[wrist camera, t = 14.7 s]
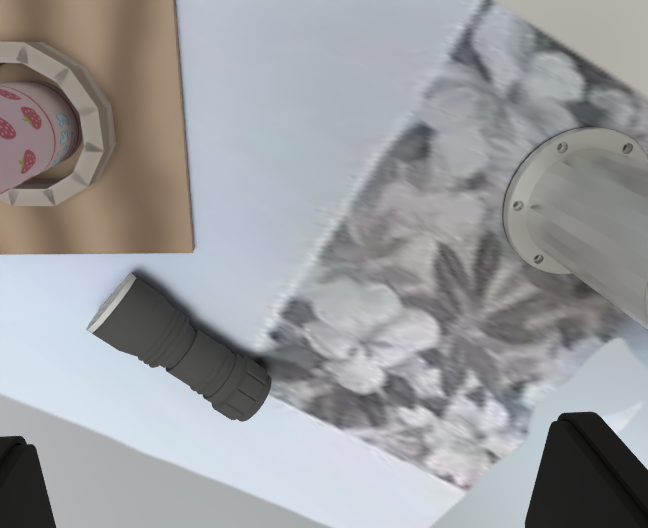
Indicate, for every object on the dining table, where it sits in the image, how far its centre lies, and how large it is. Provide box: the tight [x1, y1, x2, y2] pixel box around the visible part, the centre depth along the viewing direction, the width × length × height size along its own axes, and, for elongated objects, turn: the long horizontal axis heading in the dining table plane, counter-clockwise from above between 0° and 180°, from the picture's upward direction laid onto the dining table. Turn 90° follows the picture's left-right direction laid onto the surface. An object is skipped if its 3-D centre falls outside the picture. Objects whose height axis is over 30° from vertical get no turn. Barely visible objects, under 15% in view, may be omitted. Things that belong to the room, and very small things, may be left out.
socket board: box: [0, 0, 194, 254], centre depth 34 cm, size 20×20×4 cm
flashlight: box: [86, 274, 271, 421], centre depth 42 cm, size 15×5×5 cm, turn 46°
